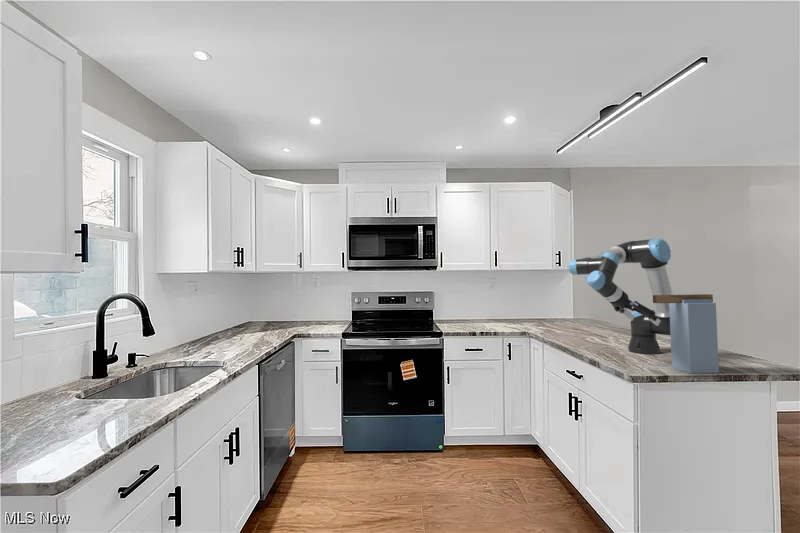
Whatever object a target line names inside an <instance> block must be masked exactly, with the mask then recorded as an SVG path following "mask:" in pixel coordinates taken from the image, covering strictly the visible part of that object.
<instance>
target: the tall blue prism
mask: <svg viewBox="0 0 800 533" xmlns="http://www.w3.org/2000/svg"><path fill="white" fill-rule="evenodd" d="M669 311H670V335H669V336H670V354H671V355H670V356H671V361H670V362H671V367H672V368H674V369H677V370H679V371H682V372H685V373H688V374H719V373H720V369H719V368H720V366H719V347H718V346H719V345H718V344H719V343H718V321H717V320H718V319H717V318H718V317H717V302H712V299H696V300H682V303H669Z"/></svg>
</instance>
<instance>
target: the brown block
mask: <svg viewBox="0 0 800 533" xmlns="http://www.w3.org/2000/svg"><path fill="white" fill-rule="evenodd" d="M713 297H714V295H713V294H710V293H709V294H707V293H702V294H700V293H699V294H697V293H695V294H693V293H692V294H691V293H690V294H673V295H652V304H655V303H682V300H696V299H712V303H714V298H713Z"/></svg>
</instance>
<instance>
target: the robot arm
mask: <svg viewBox="0 0 800 533" xmlns="http://www.w3.org/2000/svg"><path fill="white" fill-rule="evenodd" d="M671 252H672V251H671V248H670V246H669V243H668V242H667V241H666V240H664V239H663V238H651V239H642V240H640V239H639V240H630V241H625V242H623V243H621V244H617V245H613V246H612V247H609V249H607V250H605V251H602V252H599V253H596V254H595V253H594V254H593V255H589V256H586V257H584V258H576V259H571V260H570V261H569V263H568V271H569V273H570V274H571V275H575V276H579V275H580V276H581V275H582V276H583V275H588V276H587V278H586V283H587V284H588V285H589V286H590V288H592V289H593V290H594V291H595V292H596V293H598V294H599V295H600V296H602V297H603V299H605V301H607V302H609V303H610V304H611V305H612V308H613V309H614V310H615V312H617V313H620V314H622V315H623V316H625V317H626V318H627V319H628V320H629V321H630V337H631V338H630V340H629V342H628V345H627V349H628V350H627V351H629V352H631V353H634V354H644V355H645V354H646V355H656V354H660V353H661V348H660V345H659V343H658V340H657V338H656V335H662V336H663V335H664V336H665V335H666V336H670V311H669V303H654V305H655V308H656V309H650V308H648V307H647V306H645V305H643V304H641V303H640V302H639V301H636V300H635V301H634V302H633V301H632V300H631V299H629V298H630V297H629V295H628V293H627V292H625V291H624V290H623V289H622V288H621V287H619V286H618V285H617V284H616V283H615V282H613V280H614V277H615V274H616V271H617V269H618V266H619V265H620V264H640V266H641V269H643V270H645V273H646V275H647V276H646V277H647V280H648V283H649V286H650V290H651V294H652V296H653V295H674V294H673V290H672V287H671V284H670V278H669V276H668V273H667V268H666V266H667V265H668V262H669V261H670V260H671V254H672V253H671Z"/></svg>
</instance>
